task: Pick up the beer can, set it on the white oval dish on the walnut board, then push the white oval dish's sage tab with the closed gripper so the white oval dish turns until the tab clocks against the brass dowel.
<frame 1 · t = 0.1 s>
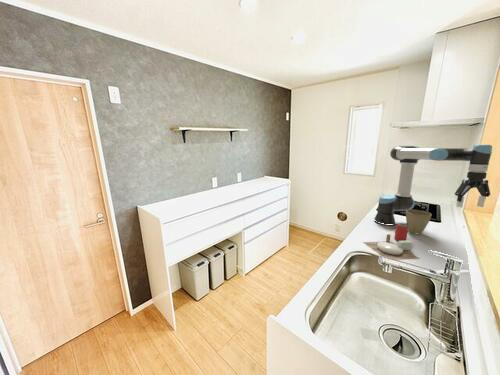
hand: (469, 206, 122), 28 cm above the worktop, fingers open, 13 cm apart
white oval dish: (394, 245, 124), point 4 cm above the worktop, hinge at 0.0°
board: (389, 251, 124), on the worktop
plant pot: (415, 232, 154), on the worktop
beer can: (399, 241, 138), on the worktop
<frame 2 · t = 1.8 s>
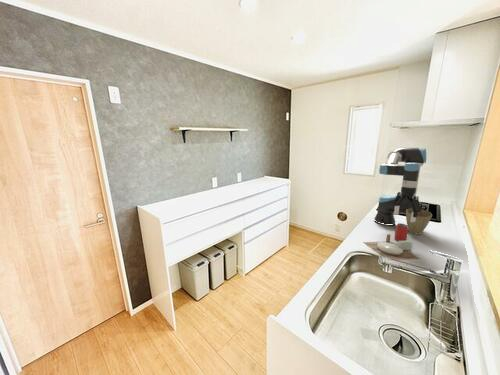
hand: (403, 218, 135), 17 cm above the worktop, fingers open, 13 cm apart
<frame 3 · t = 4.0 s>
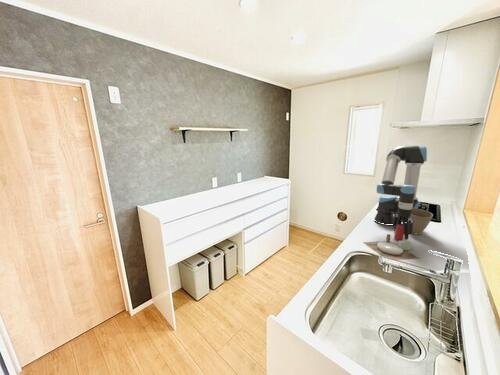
hand: (400, 240, 138), 1 cm above the worktop, fingers closed on beer can, 7 cm apart
plant pot: (415, 232, 153), on the worktop, touching arm
beer can: (399, 241, 138), on the worktop, touching gripper
everything else where it was.
when the fingers open (5 cm above the worktop, at t = 9.2 s): beer can drops 1 cm, resting on white oval dish.
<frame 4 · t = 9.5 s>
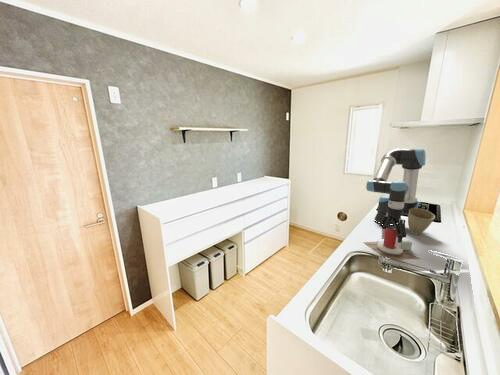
hand: (390, 242, 123), 6 cm above the worktop, fingers open, 10 cm apart
white oval dish: (394, 245, 124), point 4 cm above the worktop, hinge at 0.0°, touching beer can
beer can: (389, 247, 124), point 3 cm above the worktop, touching white oval dish
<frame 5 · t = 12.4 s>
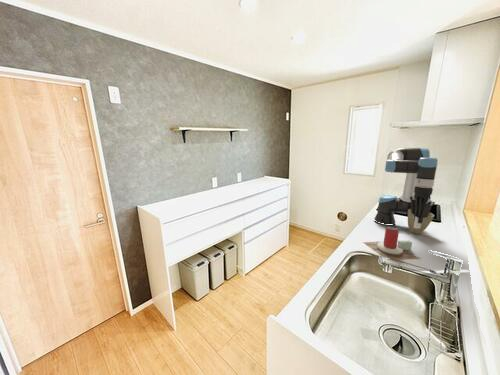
hand: (416, 227, 114), 18 cm above the worktop, fingers closed
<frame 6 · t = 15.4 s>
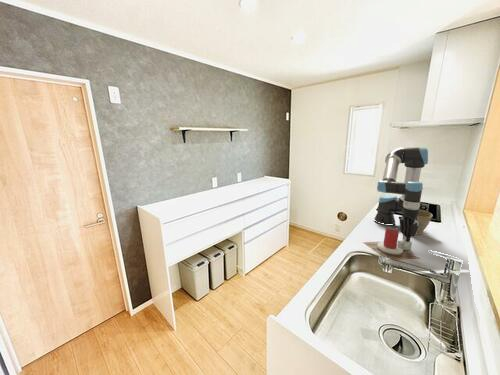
hand: (405, 245, 122), 4 cm above the worktop, fingers closed
white oval dish: (394, 245, 124), point 4 cm above the worktop, hinge at 0.7°, touching beer can, gripper
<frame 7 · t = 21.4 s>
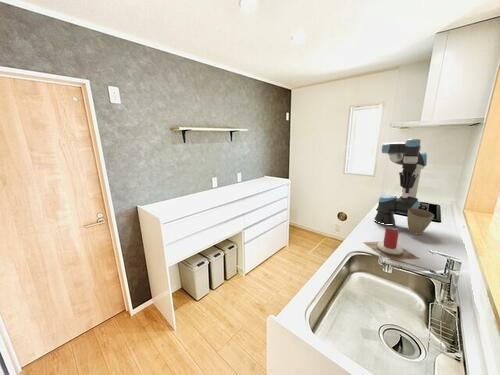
hand: (404, 197, 139), 29 cm above the worktop, fingers closed
white oval dish: (390, 243, 126), point 4 cm above the worktop, hinge at 43.6°, touching beer can
at the end: white oval dish at +44° (first picture: +0°); beer can 0.1 cm from the white oval dish (horizontally); beer can tilted 0° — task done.
